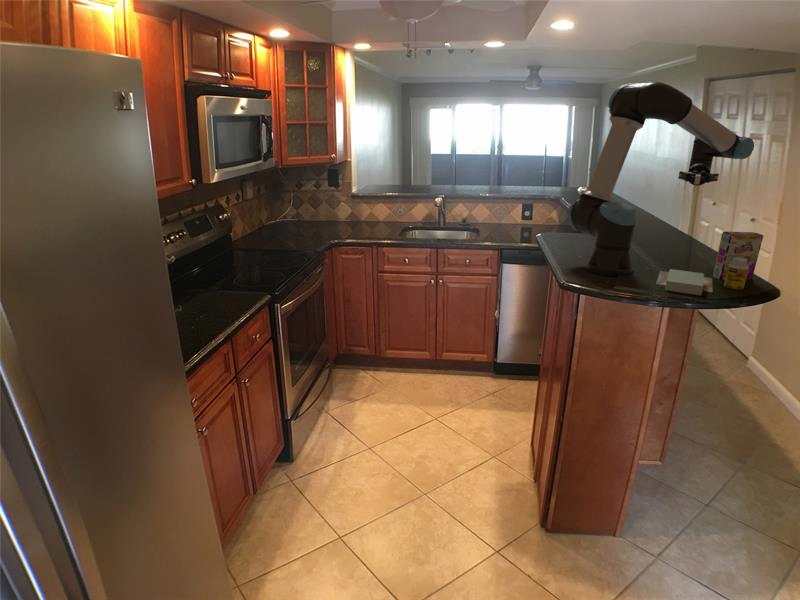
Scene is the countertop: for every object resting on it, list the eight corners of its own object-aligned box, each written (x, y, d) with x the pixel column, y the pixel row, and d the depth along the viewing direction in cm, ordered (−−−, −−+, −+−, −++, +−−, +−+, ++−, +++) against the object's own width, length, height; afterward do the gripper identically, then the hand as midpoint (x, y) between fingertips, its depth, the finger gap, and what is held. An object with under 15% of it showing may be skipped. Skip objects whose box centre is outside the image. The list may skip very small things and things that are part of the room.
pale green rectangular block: (668, 277, 181) (664, 290, 167) (669, 269, 180) (666, 280, 166) (701, 282, 176) (701, 295, 163) (703, 273, 175) (703, 285, 162)
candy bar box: (720, 282, 180) (730, 234, 174) (711, 278, 184) (721, 231, 179) (752, 283, 180) (764, 234, 175) (743, 278, 185) (754, 231, 179)
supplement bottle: (721, 290, 172) (728, 258, 169) (725, 286, 176) (731, 255, 173) (741, 293, 168) (748, 262, 165) (744, 289, 172) (752, 258, 169)
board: (655, 286, 174) (655, 283, 173) (659, 273, 189) (660, 270, 188) (711, 295, 166) (712, 292, 166) (711, 280, 182) (712, 277, 181)
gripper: (716, 186, 199) (717, 193, 179) (677, 183, 205) (673, 190, 185) (720, 165, 196) (721, 169, 177) (681, 163, 202) (677, 167, 183)
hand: (697, 180), depth 181 cm, fingers closed
